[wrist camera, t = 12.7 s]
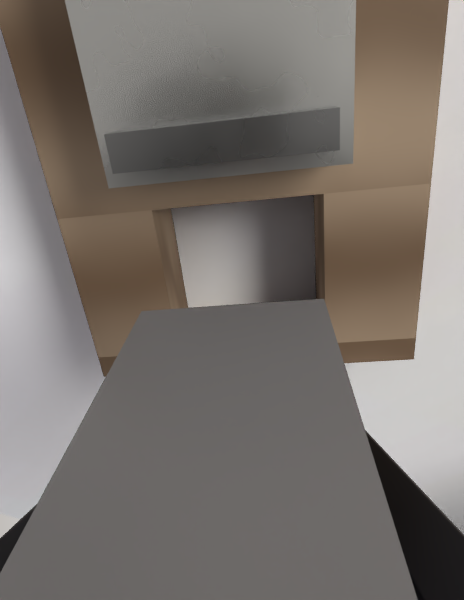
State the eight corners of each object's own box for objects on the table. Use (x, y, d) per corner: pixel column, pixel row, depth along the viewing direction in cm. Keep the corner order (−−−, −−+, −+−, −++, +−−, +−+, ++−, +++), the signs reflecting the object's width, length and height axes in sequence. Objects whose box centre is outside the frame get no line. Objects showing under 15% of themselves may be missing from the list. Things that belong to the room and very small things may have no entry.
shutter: (340, 153, 13) (359, 168, 11) (127, 176, 14) (99, 194, 12) (341, -144, 10) (368, -219, 8) (70, -98, 11) (14, -152, 9)
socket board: (392, 322, 20) (413, 359, 17) (123, 340, 21) (104, 376, 18) (423, -139, 13) (468, -201, 10) (17, -71, 14) (-41, -110, 11)
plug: (323, 298, 9) (655, 1370, 2) (325, 439, 11) (480, 1256, 3) (141, 311, 10) (-338, 1201, 2) (171, 444, 12) (-13, 1181, 4)
